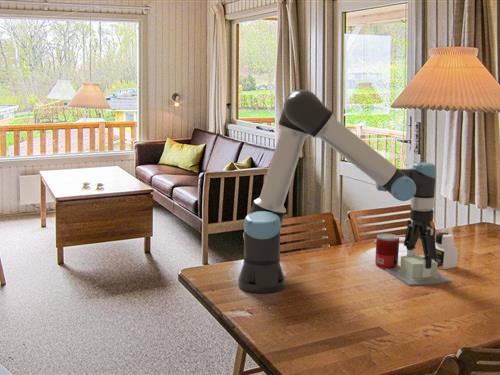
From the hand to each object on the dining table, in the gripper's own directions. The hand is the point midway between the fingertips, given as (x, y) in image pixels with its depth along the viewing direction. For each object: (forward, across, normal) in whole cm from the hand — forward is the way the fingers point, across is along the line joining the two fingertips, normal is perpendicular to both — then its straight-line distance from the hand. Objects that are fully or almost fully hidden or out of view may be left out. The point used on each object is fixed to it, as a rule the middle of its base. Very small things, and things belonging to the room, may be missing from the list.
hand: (418, 272), depth 202 cm
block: (+1, 0, 0) cm, 1 cm away
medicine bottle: (+2, +8, -15) cm, 17 cm away
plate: (+1, 0, 0) cm, 1 cm away
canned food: (+2, +13, +5) cm, 14 cm away
